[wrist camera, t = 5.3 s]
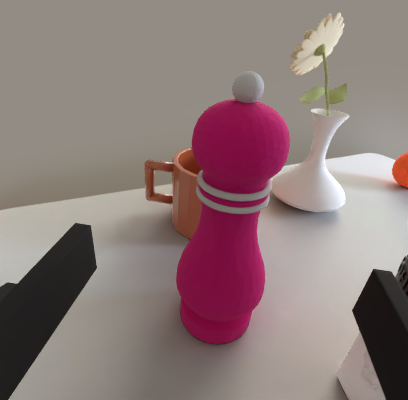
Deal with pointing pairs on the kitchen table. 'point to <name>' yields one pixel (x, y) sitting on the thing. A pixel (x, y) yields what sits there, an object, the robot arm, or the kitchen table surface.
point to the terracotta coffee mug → (178, 190)
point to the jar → (366, 360)
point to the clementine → (401, 170)
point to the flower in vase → (315, 127)
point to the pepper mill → (230, 211)
